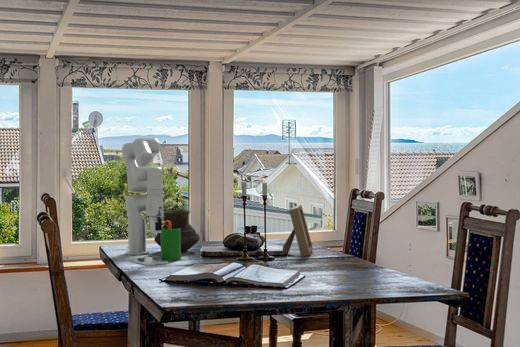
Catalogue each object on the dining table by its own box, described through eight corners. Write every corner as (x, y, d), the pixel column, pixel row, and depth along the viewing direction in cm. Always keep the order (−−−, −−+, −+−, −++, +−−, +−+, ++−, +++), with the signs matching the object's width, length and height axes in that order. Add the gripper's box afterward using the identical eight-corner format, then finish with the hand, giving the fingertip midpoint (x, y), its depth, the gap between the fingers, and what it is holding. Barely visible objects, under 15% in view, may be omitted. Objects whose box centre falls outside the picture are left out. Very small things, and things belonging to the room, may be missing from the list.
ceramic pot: (150, 251, 379) (149, 210, 379) (192, 248, 388) (191, 208, 388) (160, 256, 357) (159, 213, 356) (204, 253, 366) (204, 211, 365)
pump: (147, 232, 332) (147, 213, 331) (157, 231, 335) (157, 212, 335) (153, 233, 327) (152, 213, 327) (163, 232, 330) (162, 213, 330)
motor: (182, 258, 350) (181, 219, 349) (178, 260, 341) (177, 221, 340) (162, 258, 351) (162, 219, 350) (158, 260, 342) (157, 221, 341)
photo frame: (312, 250, 370) (311, 204, 370) (309, 256, 349) (308, 207, 348) (285, 250, 373) (284, 205, 372) (280, 256, 351) (279, 208, 350)
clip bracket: (129, 260, 343) (129, 256, 343) (149, 258, 350) (148, 254, 350) (147, 265, 327) (147, 261, 327) (168, 263, 334) (168, 258, 334)
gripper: (139, 192, 335) (140, 228, 336) (156, 193, 321) (157, 232, 322) (153, 191, 339) (153, 227, 340) (170, 193, 326) (171, 230, 326)
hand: (155, 229), depth 331 cm, fingers closed on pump, 5 cm apart
